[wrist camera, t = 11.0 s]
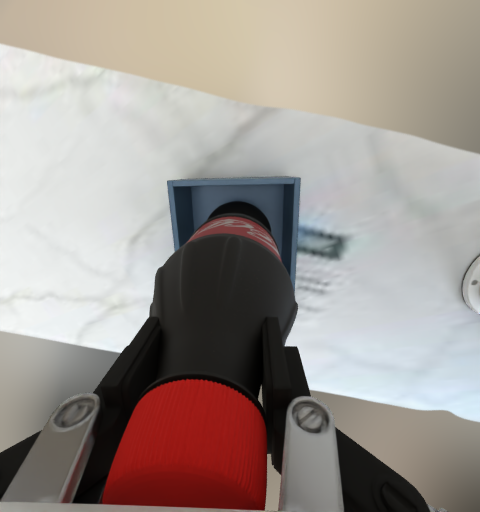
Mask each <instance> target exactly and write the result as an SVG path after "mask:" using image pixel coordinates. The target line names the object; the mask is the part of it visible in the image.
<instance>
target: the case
mask: <svg viewBox="0 0 480 512" xmlns="http://www.w3.org/2000/svg"><path fill="white" fill-rule="evenodd" d="M300 180H301V178H298V177H247V178H204V179H181V180H170V181H167V186H168V194H169V203H170V212H171V221H172V230H173V239H174V248H175V252H176V251H177V250H178V249H179V248H180V247H182V246H183V245H185V244H186V243H187V242H188V240H189V239H190V238H191V236H192V234H193V233H194V232H195V231H196V229H197V228H198V227H199V226H200V225H202V224H203V223H204V222H206V221H207V219H208V217H209V216H210V214H211V213H212V212H213V211H214V210H215V209H216V208H218V207H219V206H221V205H223V204H225V203H229V202H234V201H241V202H246V203H249V204H252V205H254V206H255V207H257V208H258V209H260V210H261V211H262V212H263V213H264V215H265V216H266V217H267V219H268V221H269V224H270V227H271V232H272V235H273V237H274V239H275V241H276V243H277V245H278V248H279V253H280V258H281V261H282V263H283V265H284V267H285V268H286V270H287V272H288V274H289V277H290V279H291V282H292V285H293V289H294V293H295V274H296V256H297V237H298V218H299V199H300Z"/></svg>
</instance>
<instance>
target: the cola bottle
mask: <svg viewBox="0 0 480 512" xmlns="http://www.w3.org/2000/svg"><path fill="white" fill-rule="evenodd" d="M297 311H298V304H297V303H296V301H295V294H294V289H293V285H292V282H291V279H290V277H289V274H288V272H287V270H286V268H285V267H284V265H283V263H282V261H281V258H280V253H279V248H278V245H277V243H276V241H275V239H274V237H273V235H272V232H271V227H270V224H269V221H268V219H267V217H266V216H265V215H264V213H263V212H262V211H261V210H260V209H258V208H257V207H255V206H254V205H252V204H249V203H246V202H241V201H234V202H229V203H225V204H223V205H221V206H219V207H218V208H216V209H215V210H214V211H213V212H212V213H211V214H210V216H209V217H208V219H207V221H206V222H204V223H203V224H202V225H200V226H199V227H198V228H197V229H196V231H195V232H194V233H193V234H192V236H191V238H190V239H189V240H188V242H187V243H186V244H185V245H183V246H182V247H180V248H179V249H178V250H177V251H176V252H175V253H174V254H173V255H172V256H171V257H170V258H169V259H168V260H167V261H166V263H165V264H164V265H163V266H162V267H160V268H159V269H158V270H157V273H156V276H155V289H154V297H153V302H152V304H151V306H150V316H157V317H158V318H159V322H158V323H159V325H160V327H161V334H160V344H159V354H158V371H157V377H156V381H155V382H153V383H152V384H151V385H149V386H148V387H147V388H146V389H145V390H144V391H143V392H142V394H141V395H140V397H139V399H138V401H137V403H136V405H135V408H134V411H133V413H132V415H131V418H130V420H129V422H128V424H127V427H126V429H125V432H124V434H123V437H122V439H121V442H120V444H119V447H118V449H117V452H116V454H115V457H114V460H113V463H112V466H111V469H110V472H109V475H108V479H107V482H106V486H105V489H104V493H103V500H102V501H103V504H104V505H133V506H161V507H188V508H213V509H237V510H261V511H265V502H266V488H267V419H266V415H265V412H264V409H263V407H262V405H261V404H260V402H259V401H258V396H259V391H260V387H261V385H262V382H263V348H262V325H263V324H264V323H265V322H266V317H278V320H279V325H280V330H281V336H282V341H283V346H284V345H285V342H286V339H287V337H288V335H289V333H290V331H291V328H292V326H293V323H294V321H295V318H296V315H297Z"/></svg>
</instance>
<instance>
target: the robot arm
mask: <svg viewBox="0 0 480 512" xmlns="http://www.w3.org/2000/svg"><path fill="white" fill-rule="evenodd" d="M462 290H463V297H464V300H465V302H466V304H467V305H468V306H469V308H471V309H472V310H473V311H474V312H476V313H478V314H479V315H480V256H479V257H478V258H477V259H476V260H475V261H474V263H473V264H472V265H471V266H470V268H469V270H468V272H467V273H466V276H465V278H464V281H463V288H462ZM158 322H159V318H158V317H157V316H150V317H149V318H148V319H147V320H146V322H145V323H144V325H143V326H142V328H141V329H140V330H139V332H138V333H137V335H136V336H135V338H134V339H133V340H132V342H131V343H130V345H129V346H127V347H126V348H125V349H124V350H123V351H122V353H121V354H120V356H119V357H118V358H117V360H116V361H115V363H114V364H113V366H112V367H111V368H110V370H109V371H108V372H107V374H106V375H105V377H104V378H103V379H102V381H101V382H100V384H99V385H98V387H97V388H96V389H95V391H94V392H93V393H82V394H79V395H76V396H74V397H71V398H69V399H68V400H66V401H65V402H63V403H62V404H61V405H60V406H58V408H56V409H55V411H54V412H53V413H52V415H51V416H50V418H49V419H48V421H47V423H46V425H45V426H44V428H43V430H41V431H39V432H37V433H36V434H34V435H32V436H30V437H28V438H26V439H25V440H23V441H21V442H19V443H17V444H16V445H14V446H12V447H10V448H8V449H6V450H4V451H3V452H1V453H0V512H447V511H446V510H444V509H443V508H440V510H439V511H437V510H436V509H434V508H433V507H431V506H429V505H428V504H426V502H425V500H424V498H423V497H422V496H421V494H420V493H419V492H418V491H417V489H416V488H415V487H414V486H413V485H411V484H410V483H409V482H408V481H407V480H406V479H404V478H403V477H402V476H400V475H399V474H398V473H396V472H395V471H394V470H392V469H391V468H389V467H388V466H387V465H385V464H384V463H383V462H381V461H380V460H379V459H377V458H376V457H375V456H373V455H372V454H370V453H369V452H368V451H367V450H365V449H364V448H362V447H361V446H360V445H359V444H357V443H356V442H355V441H353V440H352V439H351V438H349V437H348V436H346V435H345V434H344V433H342V432H341V431H340V430H338V429H337V428H336V427H335V421H334V417H333V414H332V412H331V411H330V409H329V408H328V407H327V406H326V405H325V404H324V403H323V402H322V401H320V400H318V399H316V398H313V397H311V395H310V392H309V388H308V384H307V380H306V377H305V373H304V369H303V366H302V362H301V358H300V354H299V351H298V348H297V347H290V346H283V341H282V336H281V330H280V325H279V320H278V317H266V322H265V323H264V324H263V325H262V348H263V382H262V399H263V400H262V401H263V409H264V412H265V415H266V419H267V454H271V459H272V465H274V468H275V469H276V470H277V471H278V472H279V473H280V474H281V486H280V498H279V510H278V511H261V510H237V509H213V508H188V507H161V506H133V505H104V504H103V501H102V500H103V493H104V489H105V486H106V482H107V479H108V475H109V472H110V469H111V466H112V463H113V460H114V457H115V454H116V452H117V449H118V447H119V444H120V442H121V439H122V437H123V434H124V432H125V429H126V427H127V424H128V422H129V420H130V418H131V415H132V413H133V411H134V408H135V405H136V403H137V401H138V399H139V397H140V395H141V394H142V392H143V391H144V390H145V389H146V388H147V387H148V386H149V385H151V384H152V383H153V382H155V381H156V377H157V371H158V354H159V344H160V334H161V327H160V325H159V323H158Z"/></svg>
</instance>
